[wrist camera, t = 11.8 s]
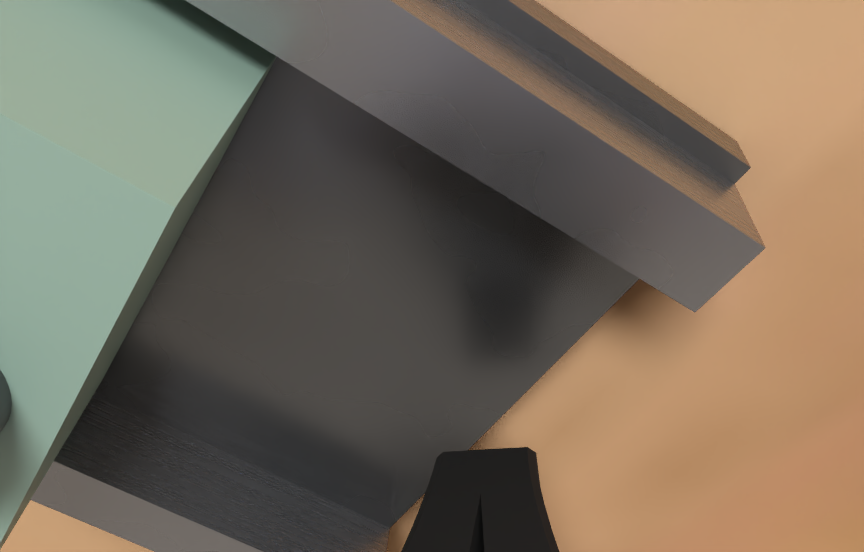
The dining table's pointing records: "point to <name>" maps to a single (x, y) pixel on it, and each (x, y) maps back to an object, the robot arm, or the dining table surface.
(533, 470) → the robot arm
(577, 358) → the dining table surface
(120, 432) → the press
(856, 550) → the dining table surface
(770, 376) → the dining table surface
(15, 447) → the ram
